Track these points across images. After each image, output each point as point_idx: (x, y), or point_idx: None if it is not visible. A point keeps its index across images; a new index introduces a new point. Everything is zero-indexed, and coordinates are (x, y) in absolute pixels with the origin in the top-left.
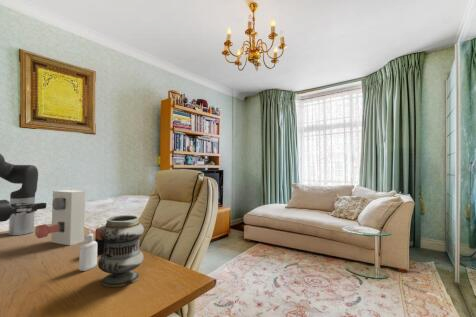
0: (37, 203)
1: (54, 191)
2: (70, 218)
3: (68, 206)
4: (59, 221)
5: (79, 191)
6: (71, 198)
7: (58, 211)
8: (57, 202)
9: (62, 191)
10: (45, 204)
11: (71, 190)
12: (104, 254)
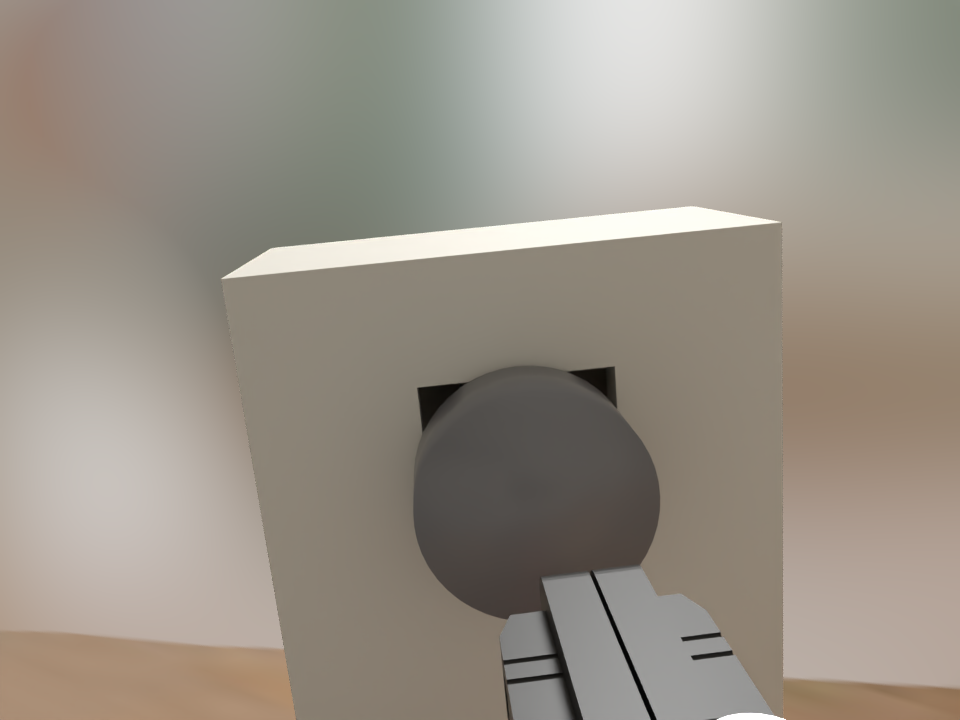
0: (597, 667)
1: (271, 279)
2: (769, 665)
3: (706, 489)
4: None
5: (696, 213)
6: (777, 338)
7: (455, 618)
8: (566, 472)
9: (466, 250)
10: (683, 605)
11: (423, 235)
12: None
